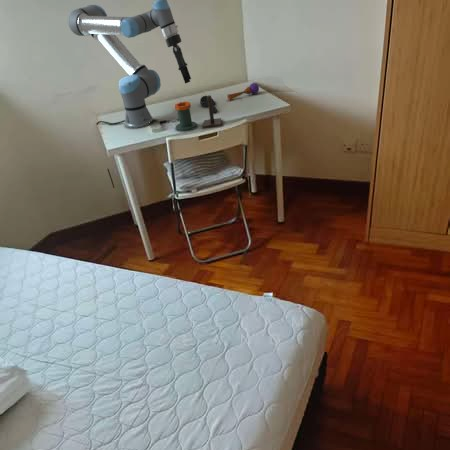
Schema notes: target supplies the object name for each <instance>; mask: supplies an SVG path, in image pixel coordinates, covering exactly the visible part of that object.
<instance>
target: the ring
mask: <svg viewBox="0 0 450 450" xmlns="http://www.w3.org/2000/svg"><path fill="white" fill-rule="evenodd" d="M191 107H192V104H191V102H190V101H180V102H178V103H175V104H174V110H176V111H177V110H179V111H180V110H186V109H189V108H190V109H191Z"/></svg>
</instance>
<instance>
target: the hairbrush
mask: <svg viewBox="0 0 450 450" xmlns="http://www.w3.org/2000/svg"><path fill="white" fill-rule="evenodd" d="M207 96H208V95H207V94H204V95H203V94H202V95H201V97H200V99H199V104H200V106H201V107H203V108H209V107H208V99H207ZM211 100H212V107H213V114H217V113H218V108H217V106H216V103H215V100H214V99H213V98H212V97H211Z"/></svg>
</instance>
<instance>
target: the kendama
mask: <svg viewBox="0 0 450 450" xmlns="http://www.w3.org/2000/svg"><path fill="white" fill-rule="evenodd" d="M259 90H260V86H259V84H258V83H256V82H252V83H251V84H249V85H248V86H247V87H246V88H245V89H244V90H243V91H238V92H233V93H229V94H227V95H226V96H227V100H228V101H229V102H230V101H231V100H234V99H236V98H238V97H240V96H241V95H243V94H245V95H246V94H247V95H257V94H258V93H259Z"/></svg>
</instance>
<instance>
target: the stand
mask: <svg viewBox="0 0 450 450" xmlns="http://www.w3.org/2000/svg"><path fill="white" fill-rule="evenodd" d="M176 111H177V117H178V121H179V123H177V124H176V126H175V130H176V131H178V132H189V131H191V130H195V129H196V128H197V127H198V123H197V122H196V121H192V114H191V108H189V109H186V110H180V111H179V110H176Z"/></svg>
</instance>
